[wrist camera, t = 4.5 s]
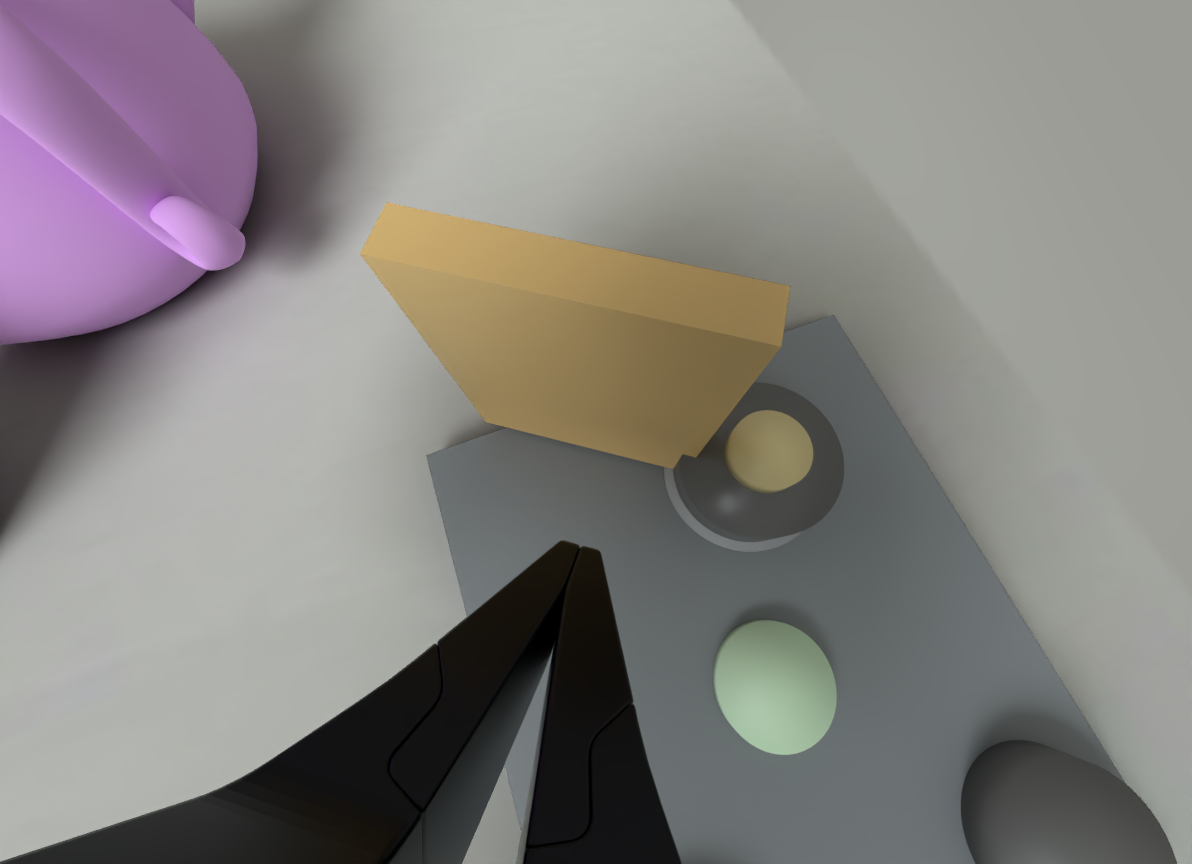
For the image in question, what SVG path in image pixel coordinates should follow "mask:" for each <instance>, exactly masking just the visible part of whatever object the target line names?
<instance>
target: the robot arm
mask: <svg viewBox="0 0 1192 864" xmlns="http://www.w3.org/2000/svg"><path fill="white" fill-rule="evenodd" d="M552 650H553V652H552ZM551 653H552V657H551V663H550V668H549V674H548V679H547V685H546V691H545V697H544V703H543V709H542V715H541V720H540V726H539V732H538V738H537V744H536V750H535V756H534V761H533V767H532V773H531V779H530V785H529V791H528V797H527V803H526V808H525V814H524V820H523V826H522V832H521V838H520V844H519V849H518V855H517V861H516V864H682V862H681V859H680V856H679V853H678V850H677V847H676V844H675V841H674V838H673V836H672V833H671V830H670V827H669V824H668V821H667V818H666V815H665V812H664V809H663V806H662V803H661V800H660V797H659V794H658V791H657V787H656V784H655V781H654V778H653V775H652V771H651V768H650V765H649V762H648V758H647V754H646V750H645V746H644V742H643V738H642V734H641V730H640V726H639V721H638V717H637V712H636V708H635V705H634V704H633V702H634V700H633V695H632V691H631V686H630V681H629V677H628V672H627V668H626V663H625V659H624V654H623V650H622V645H621V641H620V636H619V632H618V627H617V623H616V618H615V613H614V609H613V604H612V600H611V595H610V591H609V586H608V582H607V577H606V573H605V568H604V564H603V559H602V555H601V552H600V551H599V550H598V549H594V548H591V547H587V546H582V547H581V548H580V546H579V545H578V544H576V543H572V542H569V541H565V540H561V541H559V542H558V543H557V544H555V545H554V546H553V547H552V548H550V549H549V550H548V551H547V552H546V553H544V554H543V555H542V556H541V557H539V558H538V559H537V560H536V561H535V562H533V563H532V564H531V565H530V566H529V567H527V568H526V569H525V570H524V571H522V572H521V573H520V574H519V575H518V576H516V577H515V578H514V579H513V580H511V581H510V582H509V583H508V584H507V585H505V586H504V587H503V588H502V589H501V590H499V591H498V592H497V593H496V594H494V595H493V596H492V597H491V598H490V599H488V600H487V601H486V602H485V603H484V604H482V605H481V606H480V607H479V608H477V609H476V610H475V611H474V612H473V613H471V614H470V615H469V616H468V617H466V618H465V619H464V620H463V621H462V622H460V623H459V624H458V625H457V626H456V627H454V628H453V629H452V630H451V631H449V632H448V633H447V634H446V635H445V636H443V637H442V638H441V639H440V640H439V641H438V642H437V644H433V645H432V646H431V647H430V648H428V649H427V650H426V651H425V652H424V653H422V654H421V655H420V656H419V657H418V658H416V659H415V660H414V661H413V662H411V663H410V664H409V665H407V666H406V667H405V668H404V669H402V670H401V671H400V672H398V673H397V674H396V675H395V676H393V677H392V678H391V679H389V680H388V681H387V682H385V683H384V684H382V685H381V686H379V687H378V688H377V689H375V690H374V691H372V692H371V693H369V694H368V695H366V696H365V697H364V698H362V699H361V700H359V701H358V702H356V703H355V704H353V705H352V706H350V707H349V708H347V709H346V710H344V711H343V712H341V713H340V714H338V715H337V716H335V717H334V718H333V719H331V720H330V721H328V722H327V723H325V724H324V725H322V726H321V727H319V728H318V729H316V730H315V731H313V732H312V733H310V734H309V735H307V736H306V737H304V738H303V739H301V740H300V741H298V742H297V743H295V744H294V745H292V746H291V747H289V748H288V749H286V750H285V751H283V752H282V753H280V754H279V755H277V756H276V757H274V758H273V759H271V760H270V761H268V762H267V763H265V764H263V765H262V766H260V767H259V768H257V769H255V770H254V771H252V772H250V773H248V774H247V775H245V776H243V777H241V778H239V779H238V780H235V781H233V782H231V783H229V784H227V785H225V786H223V787H221V788H219V789H217V790H214V791H212V792H210V793H207V794H205V795H202V796H199V797H196V798H194V799H191V800H187V801H184V802H181V803H178V804H175V805H172V806H169V807H166V808H163V809H160V810H157V811H154V812H151V813H148V814H145V815H142V816H139V817H136V818H132V819H129V820H126V821H123V822H120V823H117V824H114V825H111V826H108V827H105V828H102V829H99V830H96V831H93V832H90V833H87V834H84V835H81V836H77V837H74V838H71V839H68V840H65V841H62V842H59V843H56V844H53V845H50V846H47V847H44V848H41V849H38V850H35V851H32V852H29V853H26V854H22V855H19V856H16V857H13V858H10V859H7V860H4V861H1V862H0V864H462V862H463V860H464V857H465V855H466V853H467V850H468V848H469V846H470V843H471V841H472V839H473V836H474V834H475V832H476V829H477V827H478V825H479V822H480V820H481V818H482V815H483V813H484V811H485V808H486V806H487V804H488V801H489V799H490V797H491V794H492V792H493V790H494V787H495V785H496V783H497V780H498V778H499V776H500V773H501V771H502V769H503V766H504V764H505V762H506V759H507V757H508V755H509V752H510V750H511V748H512V745H513V743H514V741H515V738H516V736H517V734H518V731H519V729H520V727H521V724H522V722H523V720H524V717H525V715H526V713H527V710H528V708H529V706H530V703H531V701H532V699H533V696H534V694H535V692H536V689H537V687H538V685H539V682H540V680H541V678H542V676H543V673H544V671H545V669H546V666H547V664H548V661H549V659H550V656H551Z"/></svg>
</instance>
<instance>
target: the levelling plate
mask: <svg viewBox="0 0 1192 864" xmlns="http://www.w3.org/2000/svg"><path fill="white" fill-rule="evenodd" d="M754 382H760V383H769V384H774V385H778V386H781V387H784V388H787V389H789V390H791V391H794V392H796V393H797V394H799V395H801V396H803V397H804V398H805V399H807V400H808V401H810V402H811V403H812V404H813V405H814V406H816V407H817V408H818V409H819V410H820V411H821V412H822V413H823V415H824V416H825V417H826V418H827V420H828V421H829V422H830V424H831V425H832V427H833V429H834V431H835V432H836V434H837V436H838V439H839V442H840V444H841V448H842V452H843V457H844V479H843V485H842V488H841V491H840V495H839V497H838V499H837V501H836V503H835V504H834V506H833V507H832V509H831V510H830V511H829V513H828V514H827V515H826V516H825V517H824V518H823V519H822V520H820V521H819V522H818V523H816V524H815V525H814V526H812V527H810V528H808V529H806V530H804V531H802V532H799V533H796V534H793V535H789V536H784V537H780V538H776V539H771V540H767V541H762V542H740V541H735V540H731V539H728V538H725V537H722V536H720V535H718V534H716V533H714V532H712V531H710V530H709V529H707V528H706V527H704V526H703V525H702V524H701V523H700V522H698V521H697V520H696V519H695V518H694V517H693V516H692V514H691V513H690V512H689V511H688V509H687V508H686V507H685V505H684V503H683V502H682V500H681V498H680V496H679V493H678V491H677V488H676V485H675V481H674V474H673V469H670V468H666V467H662V466H658V465H654V464H650V463H647V462H643V461H639V460H635V459H631V458H627V457H623V456H619V455H615V454H611V453H607V452H603V451H599V450H595V449H591V448H587V447H583V446H579V445H575V444H571V443H567V442H563V441H559V440H555V439H551V438H547V437H543V436H539V435H535V434H531V433H527V432H523V431H519V430H515V429H511V428H504V429H501V430H498V431H495V432H492V433H490V434H487V435H484V436H481V437H478V438H475V439H472V440H469V441H466V442H463V443H461V444H458V445H455V446H452V447H449V448H446V449H443V450H440V451H437V452H434V453H432V454H429V455H426V456H427V460H428V464H429V468H430V472H431V476H432V480H433V484H434V488H435V492H436V496H437V500H438V503H439V507H440V511H441V515H442V519H443V523H444V527H445V531H446V535H447V539H448V543H449V547H450V551H451V555H452V559H453V563H454V567H455V571H456V575H457V579H458V582H459V586H460V590H461V594H462V598H463V602H464V606H465V610H466V614H467V617H468V616H469V615H470V614H471V613H473V612H474V611H475V610H476V609H477V608H479V607H480V606H481V605H482V604H484V603H485V602H486V601H487V600H488V599H490V598H491V597H492V596H493V595H494V594H496V593H497V592H498V591H499V590H501V589H502V588H503V587H504V586H505V585H507V584H508V583H509V582H510V581H511V580H513V579H514V578H515V577H516V576H518V575H519V574H520V573H521V572H522V571H524V570H525V569H526V568H527V567H529V566H530V565H531V564H532V563H533V562H535V561H536V560H537V559H538V558H539V557H541V556H542V555H543V554H544V553H546V552H547V551H548V550H549V549H550V548H552V547H553V546H554V545H555V544H557V543H558V542H559V541H561V540H565V541H569V542H572V543H576V544H578V545H579V546H580V548H581V547H582V546H587V547H591V548H594V549H598V550H599V551H600V552H601V555H602V559H603V564H604V568H605V573H606V577H607V582H608V586H609V591H610V595H611V600H612V604H613V609H614V613H615V618H616V623H617V627H618V632H619V636H620V641H621V645H622V650H623V654H624V659H625V663H626V668H627V672H628V677H629V681H630V686H631V691H632V695H633V700H634V702H633V704H634V705H635V708H636V712H637V717H638V721H639V726H640V730H641V734H642V738H643V742H644V746H645V750H646V754H647V758H648V762H649V765H650V768H651V771H652V775H653V778H654V781H655V784H656V787H657V791H658V794H659V797H660V800H661V803H662V806H663V809H664V812H665V815H666V818H667V821H668V824H669V827H670V830H671V833H672V836H673V838H674V841H675V844H676V847H677V850H678V853H679V856H680V859H681V862H682V864H1177V862H1176V859H1175V856H1174V853H1173V850H1172V848H1171V845H1170V843H1169V841H1168V839H1167V837H1166V834H1165V833H1164V831H1163V829H1162V827H1161V826H1160V824H1159V822H1158V821H1157V819H1156V818H1155V816H1154V815H1153V813H1152V812H1151V810H1150V809H1149V808H1148V807H1147V805H1146V804H1145V803H1144V802H1143V801H1142V799H1141V798H1140V797H1139V796H1138V795H1137V794H1136V793H1135V792H1134V791H1133V790H1132V789H1131V788H1130V787H1129V786H1127V785H1126V783H1125V782H1124V780H1123V779H1122V777H1121V775H1120V774H1119V772H1118V771H1117V769H1116V767H1115V766H1114V764H1113V763H1112V761H1111V759H1110V758H1109V756H1108V755H1107V753H1106V751H1105V750H1104V748H1103V747H1102V745H1101V743H1100V742H1099V740H1098V738H1097V737H1096V735H1095V734H1094V732H1093V730H1092V729H1091V727H1090V726H1089V724H1088V722H1087V721H1086V719H1085V718H1084V716H1083V714H1082V713H1081V711H1080V710H1079V708H1078V706H1077V705H1076V703H1075V702H1074V700H1073V698H1072V697H1071V695H1070V693H1069V692H1068V690H1067V689H1066V687H1065V685H1064V684H1063V682H1062V681H1061V679H1060V677H1059V676H1058V674H1057V673H1056V671H1055V669H1054V668H1053V666H1052V665H1051V663H1050V661H1049V660H1048V658H1047V656H1046V655H1045V653H1044V652H1043V650H1042V648H1041V647H1040V645H1039V644H1038V642H1037V640H1036V639H1035V637H1034V636H1033V634H1032V632H1031V631H1030V629H1029V628H1028V626H1027V624H1026V623H1025V621H1024V620H1023V618H1022V616H1021V615H1020V613H1019V611H1018V610H1017V608H1016V607H1015V605H1014V603H1013V602H1012V600H1011V599H1010V597H1009V595H1008V594H1007V592H1006V591H1005V589H1004V587H1003V586H1002V584H1001V583H1000V581H999V579H998V578H997V576H996V575H995V573H994V571H993V570H992V568H991V566H990V565H989V563H988V562H987V560H986V558H985V557H984V555H983V554H982V552H981V550H980V549H979V547H978V546H977V544H976V542H975V541H974V539H973V538H972V536H971V534H970V533H969V531H968V530H967V528H966V526H965V525H964V523H963V521H962V520H961V518H960V517H959V515H958V513H957V512H956V510H955V509H954V507H953V505H952V504H951V502H950V501H949V499H948V497H947V496H946V494H945V493H944V491H943V489H942V488H941V486H940V485H939V483H938V481H937V480H936V478H935V476H934V475H933V473H932V472H931V470H930V468H929V467H928V465H927V464H926V462H925V460H924V459H923V457H922V456H921V454H920V452H919V451H918V449H917V448H916V446H915V444H914V443H913V441H912V439H911V438H910V436H909V435H908V433H907V431H906V430H905V428H904V427H903V425H902V423H901V422H900V420H899V419H898V417H897V415H896V414H895V412H894V411H893V409H892V407H891V406H890V404H889V403H888V401H887V399H886V398H885V396H884V394H883V393H882V391H881V390H880V388H879V386H878V385H877V383H876V382H875V380H874V378H873V377H872V375H871V374H870V372H869V370H868V369H867V367H866V366H865V364H864V362H863V361H862V359H861V358H860V356H859V354H858V353H857V351H856V349H855V348H854V346H853V345H852V343H851V341H850V340H849V338H848V337H847V335H846V333H845V332H844V330H843V329H842V327H841V325H840V324H839V322H838V321H837V319H836V317H835V316H834V315H832V316H829V317H826V318H823V319H820V320H818V321H815V322H812V323H809V324H806V325H803V326H800V327H797V328H794V329H791V330H789V331H786V332H783V339H782V346H781V348H780V349H779V350H778V351H777V353H776V354H775V355H774V357H773V358H772V359H771V361H770V362H769V363H768V364H767V366H766V367H765V368H764V370H763V371H762V372H761V374H760V375H759V376H758V377H757V379H756V380H755V381H754ZM552 652H553V650H552ZM551 657H552V653H551V656H550V659H549V661H548V664H547V666H546V669H545V671H544V673H543V676H542V678H541V680H540V682H539V685H538V687H537V689H536V692H535V694H534V696H533V699H532V701H531V703H530V706H529V708H528V710H527V713H526V715H525V717H524V720H523V722H522V724H521V727H520V729H519V731H518V734H517V736H516V738H515V741H514V743H513V745H512V748H511V750H510V752H509V755H508V757H507V759H506V762H505V768H506V772H507V776H508V780H509V784H510V788H511V792H512V796H513V800H514V804H515V808H516V811H517V815H518V819H519V823H520V827H521V831H522V826H523V820H524V814H525V808H526V803H527V797H528V791H529V785H530V779H531V773H532V767H533V761H534V756H535V750H536V744H537V738H538V732H539V726H540V720H541V715H542V709H543V703H544V697H545V691H546V685H547V679H548V674H549V668H550V663H551Z"/></svg>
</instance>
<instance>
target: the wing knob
mask: <svg viewBox="0 0 1192 864" xmlns="http://www.w3.org/2000/svg"><path fill="white" fill-rule="evenodd" d="M360 255H361V256H362V257H363V259H364V260H365V261H366V263H367V264H368V265H369V267H370V268H371V269H372V271H373V272H374V273H375V275H376V276H377V277H378V279H379V280H380V281H381V283H382V284H383V285H384V287H385V288H386V289H387V291H388V292H389V293H390V295H391V296H392V297H393V299H394V300H395V301H396V303H397V304H398V305H399V307H400V308H401V309H402V311H403V312H404V313H405V315H406V316H407V317H408V319H409V320H410V321H411V323H412V324H413V325H414V327H415V328H416V329H417V331H418V332H419V333H420V335H421V336H422V337H423V339H424V340H425V341H426V343H427V344H428V345H429V347H430V348H431V349H432V351H433V352H434V353H435V355H436V356H437V357H438V359H439V360H440V361H441V363H442V364H443V365H444V367H445V368H446V369H447V371H448V372H449V373H450V375H451V376H452V377H453V379H454V380H455V381H456V383H457V384H458V385H459V387H460V388H461V389H462V391H463V392H464V393H465V395H466V396H467V397H468V399H469V400H470V401H471V403H472V404H473V405H474V407H475V408H476V409H477V411H478V412H479V413H480V415H481V416H482V417H483V419H484V420H485V422H488V423H492V424H495V425H499V426H503V427H507V428H511V429H515V430H519V431H523V432H527V433H531V434H535V435H539V436H543V437H547V438H551V439H555V440H559V441H563V442H567V443H571V444H575V445H579V446H583V447H587V448H591V449H595V450H599V451H603V452H607V453H611V454H615V455H619V456H623V457H627V458H631V459H635V460H639V461H643V462H647V463H650V464H654V465H658V466H662V467H666V468H670V469H673V474H674V481H675V485H676V488H677V491H678V493H679V496H680V498H681V500H682V502H683V503H684V505H685V507H686V508H687V509H688V511H689V512H690V513H691V514H692V516H693V517H694V518H695V519H696V520H697V521H698V522H700V523H701V524H702V525H703V526H704V527H706V528H707V529H709V530H710V531H712V532H714V533H716V534H718V535H720V536H722V537H725V538H728V539H731V540H735V541H740V542H762V541H767V540H771V539H776V538H780V537H784V536H789V535H793V534H796V533H799V532H802V531H804V530H806V529H808V528H810V527H812V526H814V525H815V524H816V523H818V522H819V521H820V520H822V519H823V518H824V517H825V516H826V515H827V514H828V513H829V511H830V510H831V509H832V507H833V506H834V504H835V503H836V501H837V499H838V497H839V495H840V491H841V488H842V485H843V479H844V457H843V452H842V448H841V444H840V442H839V439H838V436H837V434H836V432H835V431H834V429H833V427H832V425H831V424H830V422H829V421H828V420H827V418H826V417H825V416H824V415H823V413H822V412H821V411H820V410H819V409H818V408H817V407H816V406H814V405H813V404H812V403H811V402H810V401H808V400H807V399H805V398H804V397H803V396H801V395H799V394H797V393H796V392H794V391H791V390H789V389H787V388H784V387H781V386H778V385H774V384H769V383H760V382H754V381H755V380H756V379H757V377H758V376H759V375H760V374H761V372H762V371H763V370H764V368H765V367H766V366H767V364H768V363H769V362H770V361H771V359H772V358H773V357H774V355H775V354H776V353H777V351H778V350H779V349H780V348H781V346H782V339H783V332H784V326H785V319H786V313H787V306H788V300H789V293H790V287H791V286H788V285H783V284H778V283H773V282H768V281H764V280H759V279H754V278H749V277H744V276H739V275H735V274H730V273H725V272H720V271H715V270H710V269H706V268H701V267H696V266H691V265H686V264H681V263H677V262H672V261H667V260H662V259H657V258H652V257H647V256H643V255H638V254H633V253H628V252H623V251H618V250H614V249H609V248H604V247H599V246H594V245H589V244H585V243H580V242H575V241H570V240H565V239H560V238H556V237H551V236H546V235H541V234H536V233H531V232H527V231H522V230H517V229H512V228H507V227H502V226H498V225H493V224H488V223H483V222H478V221H473V220H469V219H464V218H459V217H454V216H449V215H444V214H439V213H435V212H430V211H425V210H420V209H415V208H410V207H406V206H401V205H396V204H391V203H386V205H385V207H384V209H383V211H382V212H381V214H380V216H379V218H378V220H377V222H376V224H375V226H374V228H373V230H372V232H371V234H370V235H369V237H368V239H367V241H366V243H365V245H364V247H363V249H362V251H361V253H360Z"/></svg>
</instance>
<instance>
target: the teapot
mask: <svg viewBox="0 0 1192 864" xmlns="http://www.w3.org/2000/svg"><path fill="white" fill-rule="evenodd" d="M257 161H258V149H257V125H256V121H255V116H254V112H253V109H252V106H251V103H250V100H249V98H248V95H247V93H246V91H245V89H244V86H243V84H242V82H241V81H240V79H239V78H238V77H237V75H236V74H235V72H234V71H233V70H232V68H231V67H230V66H229V64H228V63H227V62H226V61H225V59H224V58H223V57H222V55H221V54H220V53H219V52H218V50H217V49H216V48H215V46H214V45H213V44H212V43H211V42H210V41H209V40H208V38H207V37H206V36H205V35H204V34H203V33H202V32H201V31H200V30H199V29H198V28H197V27H196V26H195V19H194V0H0V345H4V344H16V343H24V342H33V341H41V340H50V339H58V338H63V337H68V336H74V335H81V334H86V333H90V332H95V331H99V330H103V329H107V328H110V327H113V326H116V325H119V324H122V323H125V322H127V321H129V320H132V319H134V318H136V317H139V316H141V315H143V314H146V313H147V312H149V311H151V310H153V309H155V308H157V307H159V306H160V305H162V304H164V303H166V302H167V301H169V300H170V299H172V298H173V297H175V296H176V295H178V294H179V293H181V292H182V291H184V290H185V289H186V288H188V287H189V286H190V285H191V284H193V283H194V282H195V281H196V280H197V279H199V278H200V277H201V276H202V275H203V274H204V273H205V272H206V271H207V270H221V269H224V268H227V267H230V266H231V265H233V264H235V263H236V262H238V261H239V260H240V259H241V257H242V255H243V253H244V250H245V243H246V242H245V237H244V235H243V234H242V233H241V232H240V229H241V227H242V225H243V223H244V221H245V219H246V217H247V215H248V213H249V209H250V206H251V203H252V200H253V195H254V189H255V180H256V174H257Z"/></svg>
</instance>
